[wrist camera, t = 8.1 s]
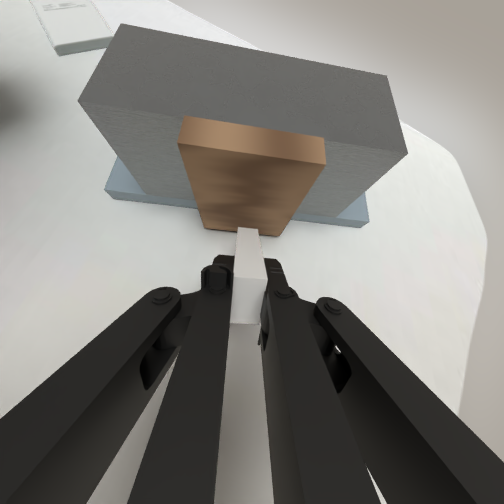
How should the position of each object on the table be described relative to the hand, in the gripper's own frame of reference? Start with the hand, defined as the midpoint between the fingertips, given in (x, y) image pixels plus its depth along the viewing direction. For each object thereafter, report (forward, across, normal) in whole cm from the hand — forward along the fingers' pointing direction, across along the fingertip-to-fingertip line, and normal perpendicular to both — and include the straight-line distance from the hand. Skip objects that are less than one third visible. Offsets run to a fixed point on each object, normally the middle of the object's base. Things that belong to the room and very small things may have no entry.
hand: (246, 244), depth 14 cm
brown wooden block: (+9, 0, +3) cm, 10 cm away
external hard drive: (+28, -28, +21) cm, 45 cm away
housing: (+10, 0, +4) cm, 11 cm away
